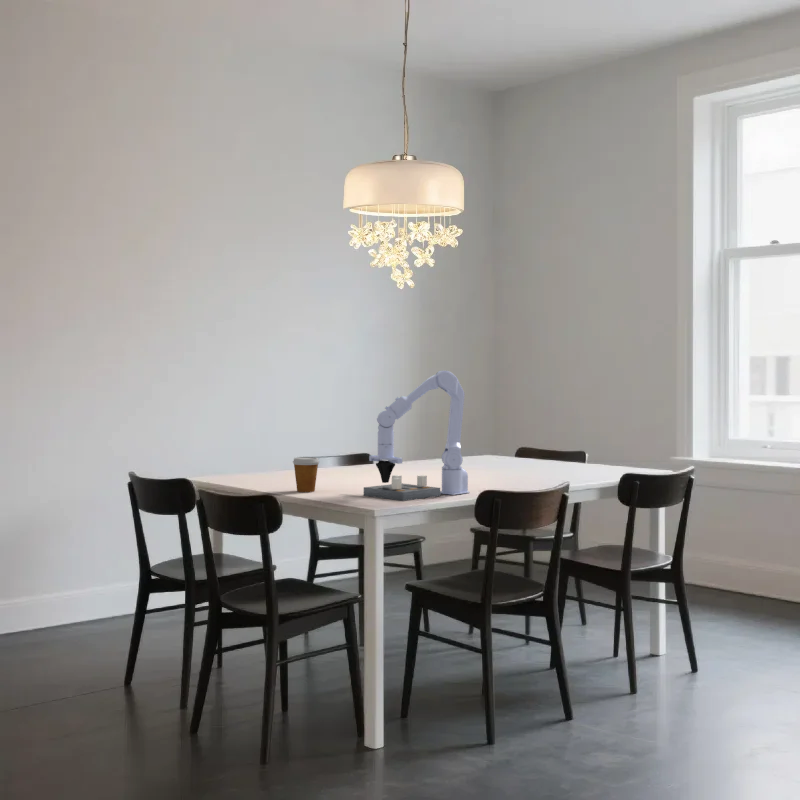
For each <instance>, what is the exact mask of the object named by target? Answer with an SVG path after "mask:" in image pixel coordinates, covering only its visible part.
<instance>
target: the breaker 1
mask: <svg viewBox="0 0 800 800" xmlns="http://www.w3.org/2000/svg"><path fill="white" fill-rule="evenodd" d="M402 479H403V477H402V478H392V477H391V484H392V489H401V482H402Z"/></svg>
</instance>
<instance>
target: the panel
mask: <svg viewBox="0 0 800 800" xmlns="http://www.w3.org/2000/svg"><path fill="white" fill-rule="evenodd" d="M440 491H441V487H437V486H436V487H435V486H428V485H427V486H417V484H411V483H402V486H401V489H392V483H391V484H381V485H374V486H365V487H363V496H364V497H371V498H379V499H380V498H381V499H386V500H394V501H395V500H396V501H402V502H405V501H412V500H420V499H428V498H436V497H437V498H438V497H441V493H440Z"/></svg>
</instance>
